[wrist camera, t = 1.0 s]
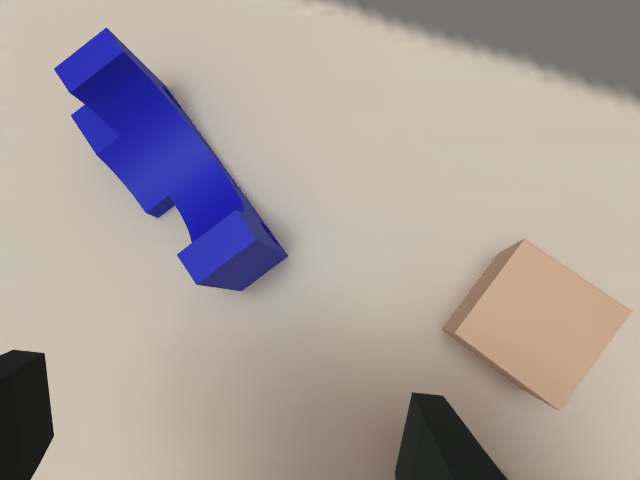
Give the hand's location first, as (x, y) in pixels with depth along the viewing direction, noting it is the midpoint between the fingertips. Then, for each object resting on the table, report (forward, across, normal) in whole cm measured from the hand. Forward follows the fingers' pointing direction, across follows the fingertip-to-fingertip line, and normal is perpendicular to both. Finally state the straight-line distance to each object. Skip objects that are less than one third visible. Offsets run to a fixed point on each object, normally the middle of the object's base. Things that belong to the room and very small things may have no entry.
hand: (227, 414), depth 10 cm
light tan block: (+13, -11, +4) cm, 17 cm away
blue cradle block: (+18, +5, +1) cm, 19 cm away
